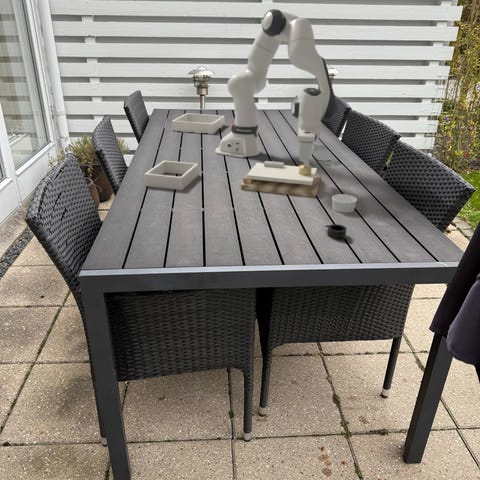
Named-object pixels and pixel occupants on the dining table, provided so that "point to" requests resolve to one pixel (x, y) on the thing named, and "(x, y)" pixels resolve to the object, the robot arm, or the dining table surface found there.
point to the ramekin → (343, 203)
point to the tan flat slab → (282, 186)
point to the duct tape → (336, 231)
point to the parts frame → (171, 182)
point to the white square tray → (198, 123)
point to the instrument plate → (282, 173)
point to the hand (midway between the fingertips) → (306, 166)
